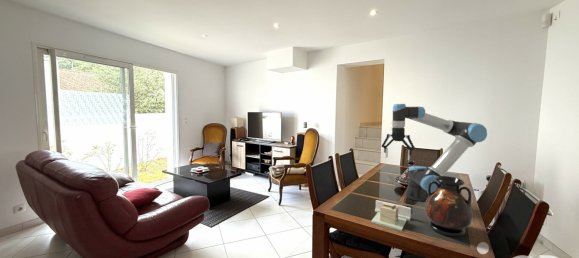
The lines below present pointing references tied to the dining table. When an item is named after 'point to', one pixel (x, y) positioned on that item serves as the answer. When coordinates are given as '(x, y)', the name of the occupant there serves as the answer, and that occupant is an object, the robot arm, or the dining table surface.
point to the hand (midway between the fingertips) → (397, 158)
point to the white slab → (402, 211)
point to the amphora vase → (448, 207)
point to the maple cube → (389, 213)
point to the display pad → (397, 226)
